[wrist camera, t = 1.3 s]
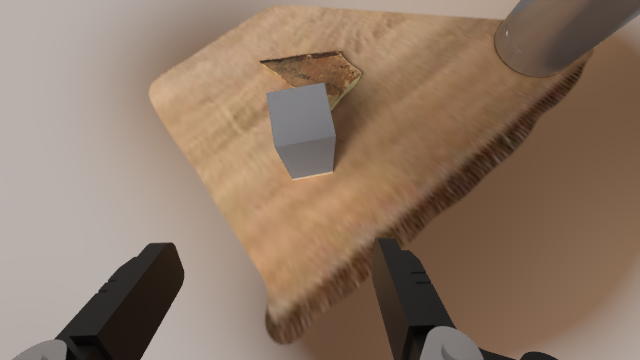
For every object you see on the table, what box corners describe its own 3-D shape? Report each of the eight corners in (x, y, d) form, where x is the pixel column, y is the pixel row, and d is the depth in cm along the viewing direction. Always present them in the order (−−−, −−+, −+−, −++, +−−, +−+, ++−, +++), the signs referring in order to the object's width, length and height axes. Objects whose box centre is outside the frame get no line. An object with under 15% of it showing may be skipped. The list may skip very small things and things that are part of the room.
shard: (262, 69, 31) (258, 59, 30) (301, 31, 33) (300, 19, 31) (326, 119, 30) (326, 111, 28) (365, 76, 31) (368, 67, 29)
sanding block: (325, 135, 29) (324, 81, 19) (332, 173, 27) (336, 136, 18) (286, 142, 28) (265, 92, 19) (292, 180, 27) (274, 148, 18)
